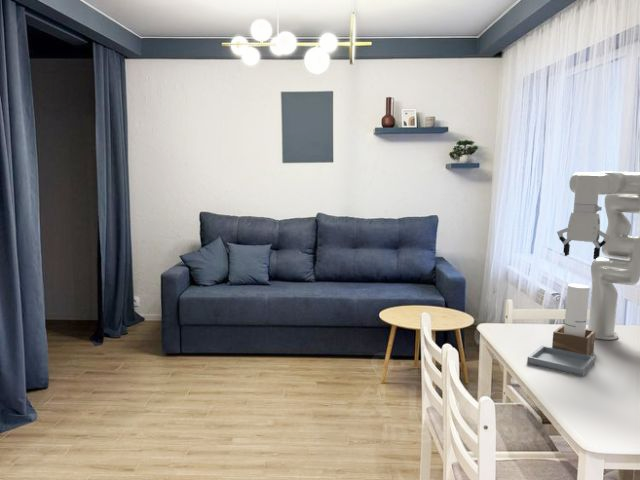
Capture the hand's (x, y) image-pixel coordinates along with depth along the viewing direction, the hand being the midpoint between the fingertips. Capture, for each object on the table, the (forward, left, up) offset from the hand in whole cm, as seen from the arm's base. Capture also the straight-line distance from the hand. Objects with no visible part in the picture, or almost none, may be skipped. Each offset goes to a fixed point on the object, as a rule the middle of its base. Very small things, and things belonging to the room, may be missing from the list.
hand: (580, 257), depth 208 cm
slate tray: (+15, 0, -36) cm, 38 cm away
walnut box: (0, 0, -36) cm, 36 cm away
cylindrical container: (0, 0, -36) cm, 36 cm away
